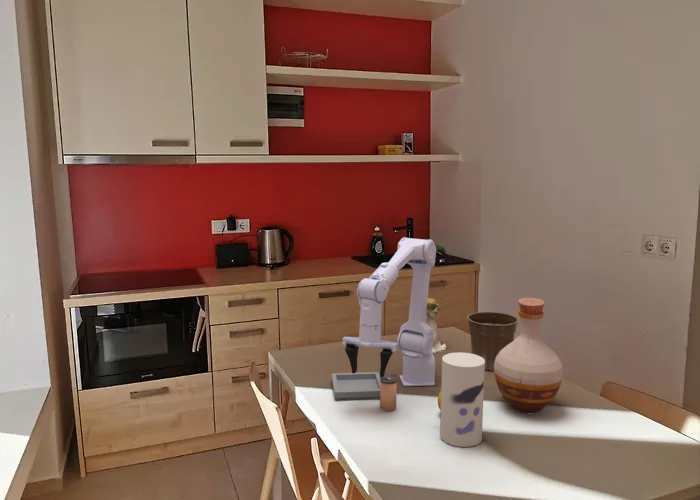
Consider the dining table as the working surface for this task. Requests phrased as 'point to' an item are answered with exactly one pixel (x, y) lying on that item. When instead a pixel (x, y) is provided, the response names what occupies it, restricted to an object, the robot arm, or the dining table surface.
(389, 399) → the shaker
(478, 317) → the plant pot
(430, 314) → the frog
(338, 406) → the dining table surface
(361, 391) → the tray
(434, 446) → the dining table surface
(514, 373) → the jug
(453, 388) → the container
